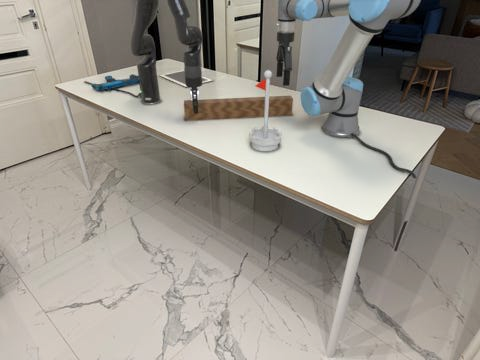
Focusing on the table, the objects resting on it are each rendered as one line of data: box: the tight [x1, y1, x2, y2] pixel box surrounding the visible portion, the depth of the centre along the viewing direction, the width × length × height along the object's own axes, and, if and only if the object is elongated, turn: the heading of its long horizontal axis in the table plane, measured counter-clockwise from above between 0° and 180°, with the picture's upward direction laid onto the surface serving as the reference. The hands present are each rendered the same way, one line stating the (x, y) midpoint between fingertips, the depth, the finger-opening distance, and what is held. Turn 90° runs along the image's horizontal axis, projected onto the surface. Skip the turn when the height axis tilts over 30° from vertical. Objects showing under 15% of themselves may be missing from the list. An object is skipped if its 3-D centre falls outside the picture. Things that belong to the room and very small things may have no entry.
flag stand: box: [248, 69, 283, 152], centre depth 130 cm, size 13×13×30 cm
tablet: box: [158, 69, 214, 88], centre depth 216 cm, size 32×20×1 cm, turn 41°
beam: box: [183, 95, 294, 122], centre depth 162 cm, size 51×5×8 cm, turn 97°
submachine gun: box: [90, 73, 140, 92], centre depth 207 cm, size 34×4×25 cm
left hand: (196, 111), depth 160 cm, fingers closed on beam, 4 cm apart
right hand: (282, 80), depth 157 cm, fingers open, 13 cm apart
